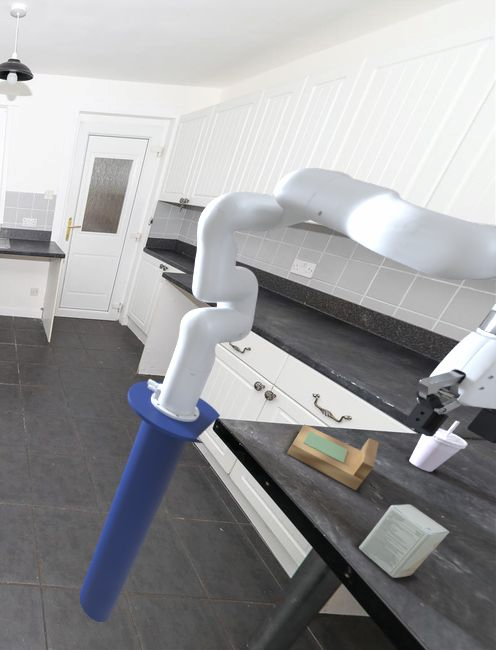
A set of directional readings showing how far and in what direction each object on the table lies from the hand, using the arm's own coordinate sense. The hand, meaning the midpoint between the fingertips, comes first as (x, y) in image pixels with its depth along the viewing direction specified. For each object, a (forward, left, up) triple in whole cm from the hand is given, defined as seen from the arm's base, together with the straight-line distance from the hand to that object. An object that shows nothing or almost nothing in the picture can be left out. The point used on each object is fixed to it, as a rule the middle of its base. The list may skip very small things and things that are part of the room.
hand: (449, 433), depth 50 cm
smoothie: (+7, +44, -27) cm, 52 cm away
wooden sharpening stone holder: (-8, +24, -27) cm, 37 cm away
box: (+3, 0, -27) cm, 27 cm away
